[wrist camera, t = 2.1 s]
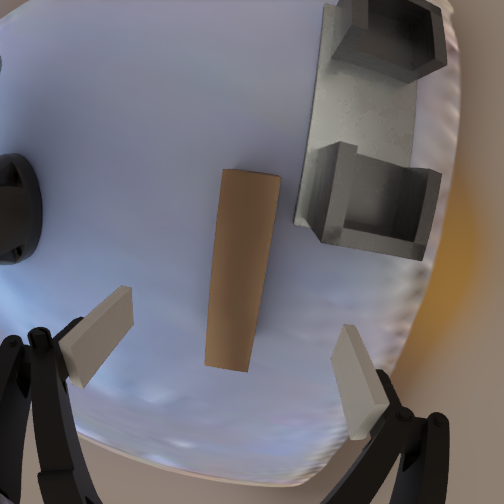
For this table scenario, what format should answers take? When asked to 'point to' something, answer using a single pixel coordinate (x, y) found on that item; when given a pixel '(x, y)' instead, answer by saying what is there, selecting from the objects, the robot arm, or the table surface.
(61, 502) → the robot arm
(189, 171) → the table surface
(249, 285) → the rail
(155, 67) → the table surface
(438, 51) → the grey rectangular holder
